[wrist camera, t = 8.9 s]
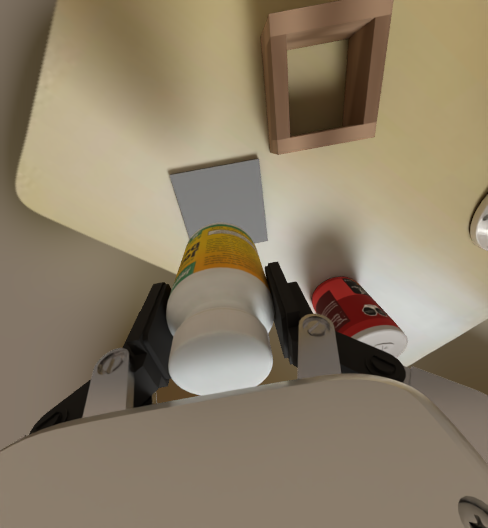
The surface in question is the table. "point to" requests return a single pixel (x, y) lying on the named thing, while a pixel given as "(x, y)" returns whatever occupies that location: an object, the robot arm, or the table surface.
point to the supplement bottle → (220, 313)
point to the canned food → (358, 315)
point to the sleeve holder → (357, 75)
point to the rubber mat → (223, 197)
